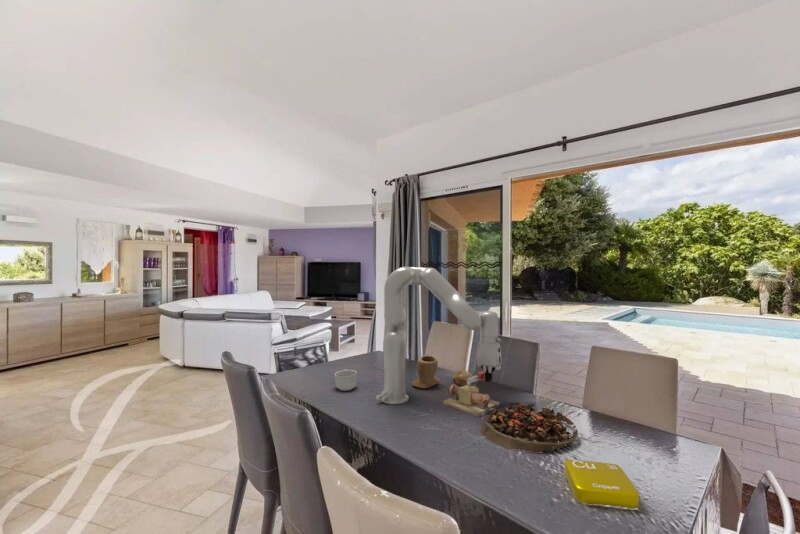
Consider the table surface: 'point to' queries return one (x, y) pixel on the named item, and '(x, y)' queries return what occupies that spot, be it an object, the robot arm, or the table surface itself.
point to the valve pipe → (469, 395)
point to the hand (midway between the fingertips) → (488, 381)
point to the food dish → (527, 428)
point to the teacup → (346, 379)
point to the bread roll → (462, 377)
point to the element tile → (601, 484)
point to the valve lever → (476, 378)
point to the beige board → (467, 408)
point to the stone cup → (426, 372)
